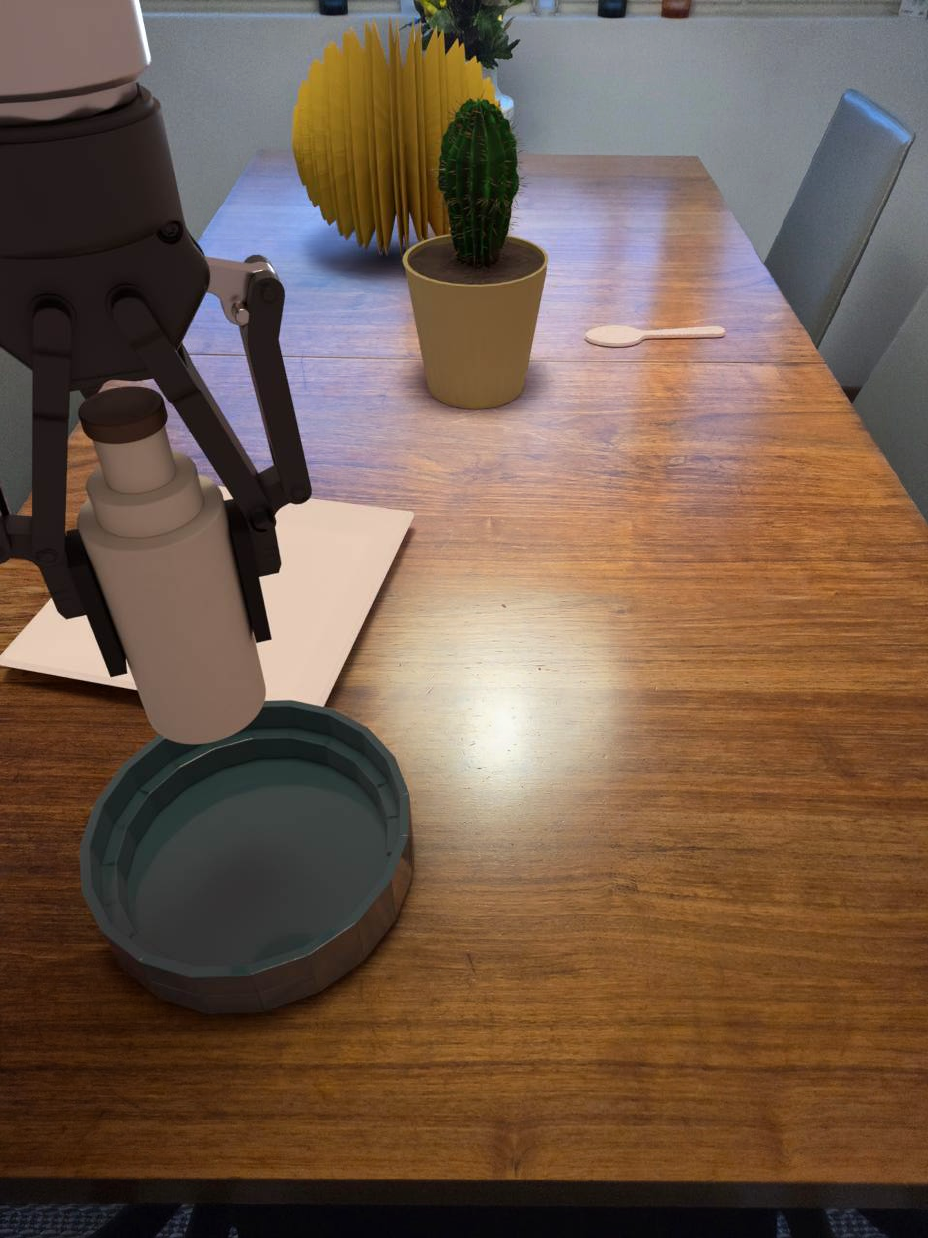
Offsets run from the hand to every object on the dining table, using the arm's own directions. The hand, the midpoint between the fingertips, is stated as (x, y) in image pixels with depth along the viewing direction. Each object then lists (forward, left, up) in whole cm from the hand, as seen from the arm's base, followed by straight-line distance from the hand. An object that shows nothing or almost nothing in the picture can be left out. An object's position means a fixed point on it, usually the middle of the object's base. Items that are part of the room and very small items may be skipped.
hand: (189, 638), depth 42 cm
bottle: (0, 0, -4) cm, 4 cm away
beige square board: (+2, +27, -20) cm, 34 cm away
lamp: (+40, +99, -20) cm, 109 cm away
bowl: (0, 0, -20) cm, 20 cm away
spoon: (+61, +59, -20) cm, 87 cm away
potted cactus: (+35, +55, -20) cm, 68 cm away
